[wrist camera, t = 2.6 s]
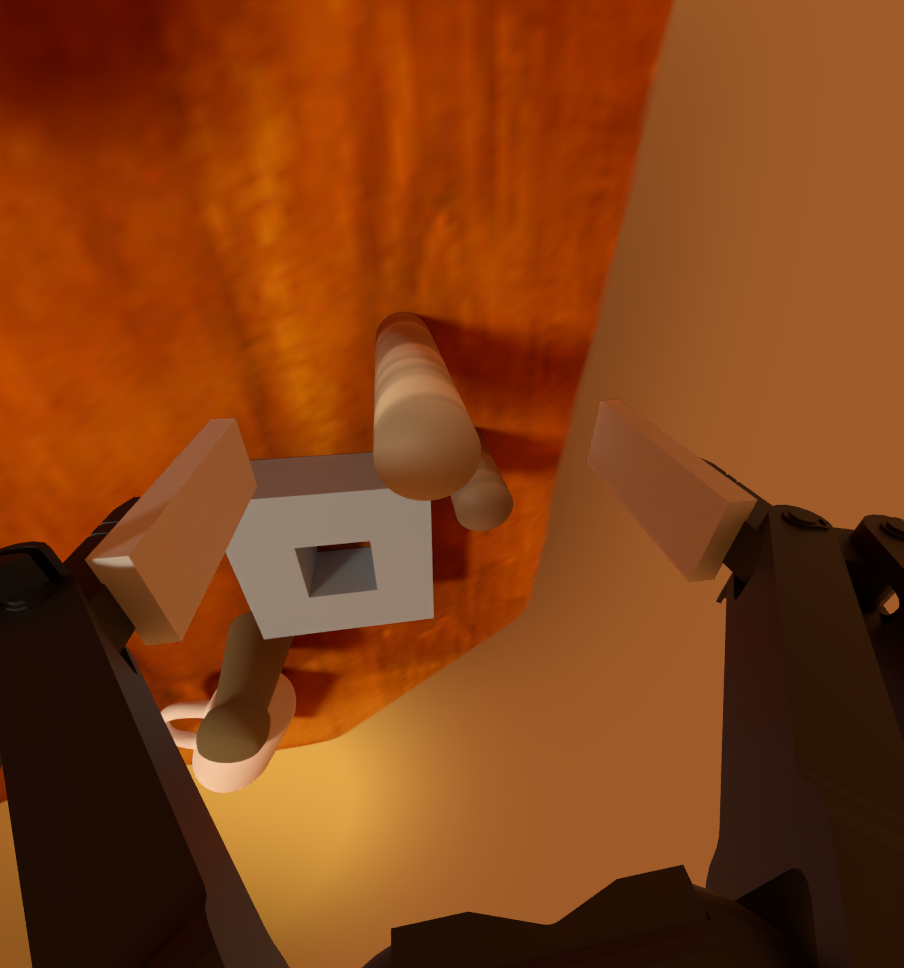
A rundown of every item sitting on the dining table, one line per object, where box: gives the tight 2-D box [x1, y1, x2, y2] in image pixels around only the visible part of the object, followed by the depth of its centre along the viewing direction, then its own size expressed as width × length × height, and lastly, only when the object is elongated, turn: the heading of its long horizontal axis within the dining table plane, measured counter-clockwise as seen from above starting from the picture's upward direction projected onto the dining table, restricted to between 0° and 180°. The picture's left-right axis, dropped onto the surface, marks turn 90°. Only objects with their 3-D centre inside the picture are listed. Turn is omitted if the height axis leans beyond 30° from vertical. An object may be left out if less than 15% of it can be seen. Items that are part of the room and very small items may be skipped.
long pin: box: [373, 312, 481, 501], centre depth 19 cm, size 4×4×15 cm
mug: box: [161, 673, 296, 793], centre depth 40 cm, size 12×10×8 cm
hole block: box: [225, 452, 434, 639], centre depth 31 cm, size 14×14×5 cm
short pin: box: [451, 428, 513, 531], centre depth 27 cm, size 4×4×8 cm
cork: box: [196, 612, 294, 763], centre depth 34 cm, size 6×6×11 cm
